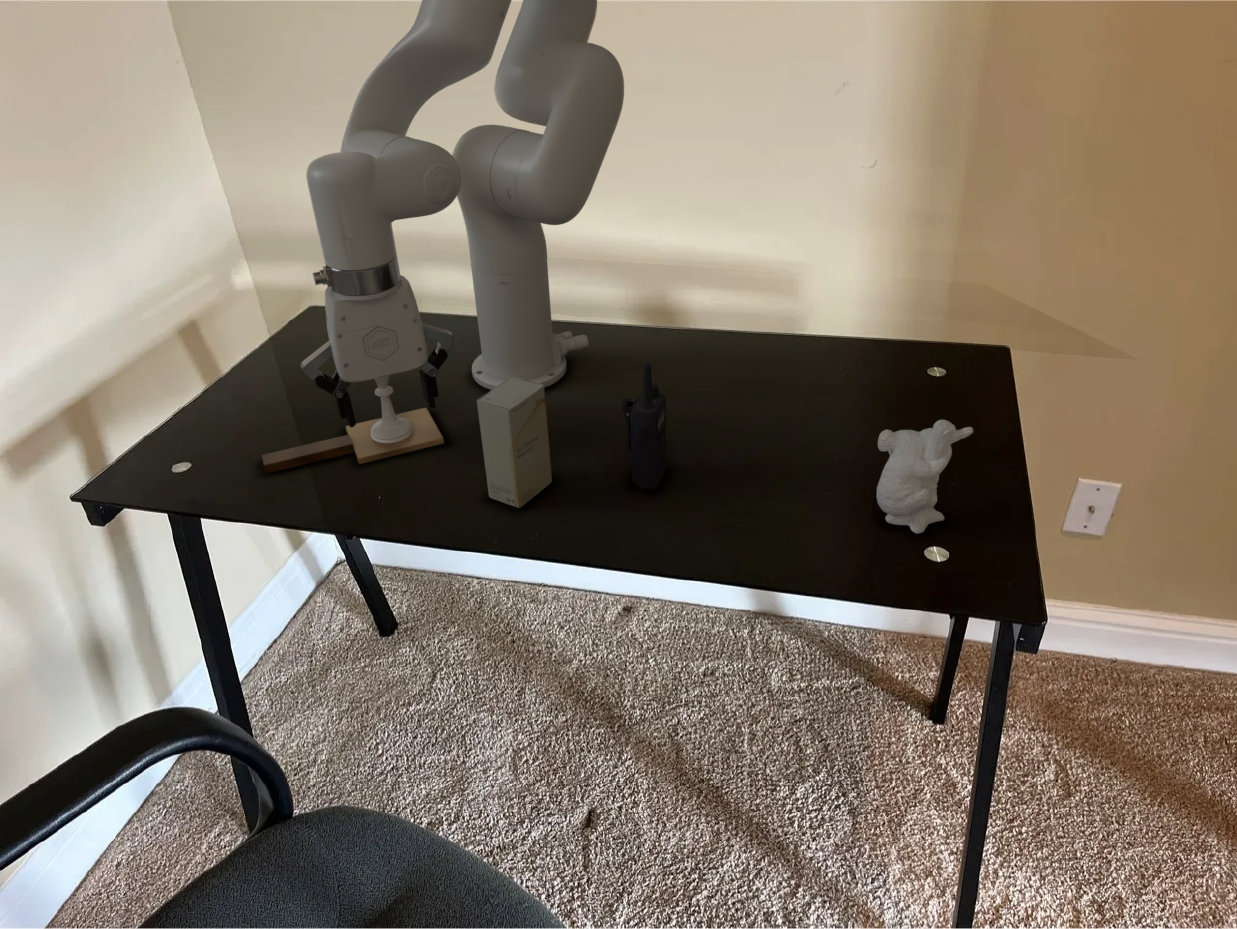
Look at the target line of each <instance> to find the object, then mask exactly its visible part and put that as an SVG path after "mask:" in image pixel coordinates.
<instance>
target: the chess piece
mask: <svg viewBox="0 0 1237 929" xmlns="http://www.w3.org/2000/svg"><path fill="white" fill-rule="evenodd" d="M389 379H390V375H389V376H385V377H380V378H376V379H373V380H374V382H375V384H376V385H377V388H375V389H374V395H375V396H377V397H379V398H380V404H381V406H380V407H381V418H382V419H381V420H379V421H378V422H376V423H375V424H374V425H373V426H372V427H371V438H372V439H373V440H375V441H376V442H380V443H395V442H399V441H402V440H404V439H406V438H407V437H409V436H410V435H411V433H412V431H413V428H412V426H411V423H410V421H409V420H407V419H405V418H401V417H397V416H396V412H395V409H394V407H393V403H392V400H391V397H390V395H392V394H393V393H394V388H393V387H392V386H390V385H389Z"/></svg>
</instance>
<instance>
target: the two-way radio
mask: <svg viewBox="0 0 1237 929" xmlns="http://www.w3.org/2000/svg"><path fill="white" fill-rule="evenodd" d="M642 372H643V373H642V394H640V395H639V396H638V397H636V399H634V401H631V398H629V397H623V399H622V400H621V411H622V414H623V415H624V418H625V421H626V428H627V448H628V450H627V451H628V452H629V453H630V454H631V455H630V456H631V459H630V460H631V482H632V484H633V485H634V486H636V487H637V488H638V489H642V490H653V489H656V488H658V486H659V485H660V483H661V481H662V479H663V477H664V474H665V472H666V466H667V445H668V439H667V432H668V429H667V397H666V396H665V395H664V394H663V393H660V388H659V384H658V383H657V382H653V375H652V363H651V362H650V361H645V362H644V363H643V371H642Z"/></svg>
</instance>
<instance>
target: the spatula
mask: <svg viewBox="0 0 1237 929" xmlns="http://www.w3.org/2000/svg"><path fill="white" fill-rule="evenodd" d="M395 415H396V416H397V417H401V418H405V419H407V420H409V421H410V423H411V426H412V428H413V431H412V433H411V435H410V436H409V437H407V438H406V439H404V440H402V441H399V442H395V443H380V442H376V441H375V440H373V439H372V438H371V427H372V426H373V425H374V424H375V423H376V422H378V421H379V420H381V419H382V417H379V418H375V419H370V420H366V421H362V422H358V423H356V425H355V427H351V428H350V426H349V425H345V432H346V434H344V435H341V436H337V437H332V438H329V439H324V440H320V441H315V442H311V443H307V444H303V445H298V446H294V447H290V448H285V449H282V450H277V451H274V452H270V453H265V454H261V460H262V464H263V468H264V472H265V474H267V475H268V474H270V473H277V472H280V471H283V470H289V469H291V468H296V467H300V466H304V465H308V464H312V463H313V464H314V463H316V462H321V461H324V460H329V459H333V458H337V457H342V456H345V455H349V454H355V457H356V459H357V462H358V464H359V465H362V464H366V463H371V462H374V461H378V460H382V459H387V458H391V457H395V456H398V455H402V454H403V455H404V454H407V453H410V452H416V451H419V450H422V449H427V448H431V447H435V446H439V445H444V444H445V439H444V437H443V435H442V433H441V431H440V429H439V428H438V426H437V424H436V423H435V421H434V419H433V417H432V414H431V413H430V411H429V410H428V408H427V407H422V408H418V409H414V410H409V411H405V412H400V413H395Z"/></svg>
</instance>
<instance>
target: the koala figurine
mask: <svg viewBox="0 0 1237 929" xmlns="http://www.w3.org/2000/svg"><path fill="white" fill-rule="evenodd" d="M974 431H975V430H974V428H973V427H972V426H966V427H963V428H961V429H957V428H956V426H955V424H953V423H952V422H951V421H949V420H946V419H939V420H937V421H935V422H934V424H933V426H932V427H929V428H924V429H922V430H921V431H917V430H913V429H900V430H897V431H893V430H891V429H884V430H882V431H881V432H880V433H879V434H878V439H877V448H878V450H879V451H880V452H883V453H884V452H888V454H889V457H888V460H887V462H886V463H885V465H884V467H883V470H882V472H881V475H880V477H879V480H878V482H877V486H876V496H875V497H876V498H875V499H876V501H877V505H878V507H879V508H880V510H881V511H882V512H884V513H886V515H885V517H884V518H885V519H884V520H885V521H886V523H888V524H890V525H898V526H908V527H909V528H910V529H909V530H910V531H912V533H914V534H917V535H918V534H923V533H924V532H925V530H926V528H927V527H928V526H929V525H931V524H934V523H938V522H943V521H944V520H945V516H944V514H943V513H942V512H940V511H938V510H936V508H934V507H935V505H936V504H937V502H938V495H937V494H938V493H937V492H938V489H937V488H938V483H939V480H940V474H941V473H942V472H943V471H944V470H945V468H947V466H948V464H949V462H950V461H951V458H952V454H953V448H952V444H953V443H956V442H958V441H960V440H962V439H966V438H967V437H969V436H971V435H972V434H973V433H974Z"/></svg>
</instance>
